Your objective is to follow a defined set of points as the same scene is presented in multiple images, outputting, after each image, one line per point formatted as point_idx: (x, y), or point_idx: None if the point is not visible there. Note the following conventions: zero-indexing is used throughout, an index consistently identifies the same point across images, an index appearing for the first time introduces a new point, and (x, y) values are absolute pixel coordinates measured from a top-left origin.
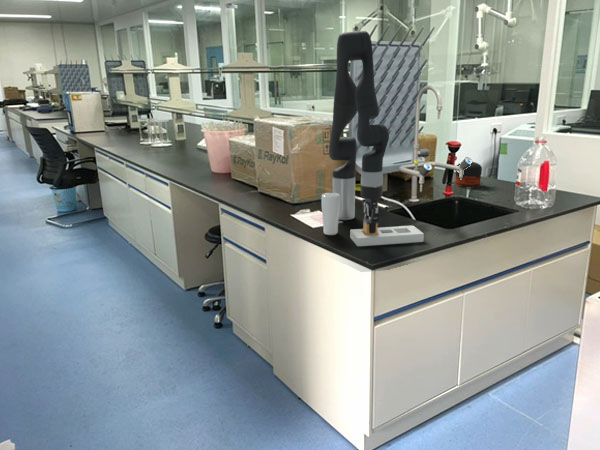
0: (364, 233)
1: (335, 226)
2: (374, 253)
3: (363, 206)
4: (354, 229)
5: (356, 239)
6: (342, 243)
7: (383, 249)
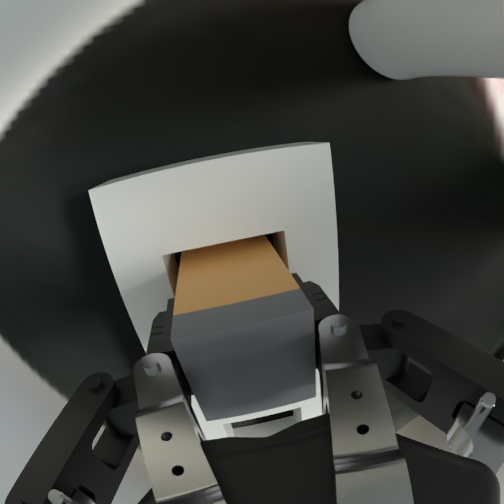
0: (235, 251)
1: (387, 42)
2: (23, 272)
3: (467, 369)
4: (328, 178)
5: (129, 177)
6: (174, 76)
7: (84, 323)
